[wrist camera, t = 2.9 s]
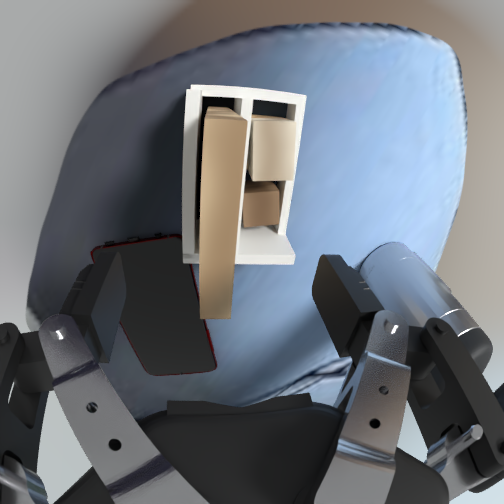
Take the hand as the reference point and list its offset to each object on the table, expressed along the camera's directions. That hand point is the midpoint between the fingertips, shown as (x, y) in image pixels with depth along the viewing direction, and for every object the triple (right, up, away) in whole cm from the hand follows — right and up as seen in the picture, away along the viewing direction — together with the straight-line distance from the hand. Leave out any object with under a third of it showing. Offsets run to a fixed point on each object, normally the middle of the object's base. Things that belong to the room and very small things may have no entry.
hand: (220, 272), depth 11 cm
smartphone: (-11, -8, +26) cm, 30 cm away
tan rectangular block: (-3, +10, +16) cm, 19 cm away
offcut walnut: (+2, +7, +19) cm, 20 cm away
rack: (0, +10, +17) cm, 19 cm away
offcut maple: (+3, +10, +13) cm, 17 cm away
